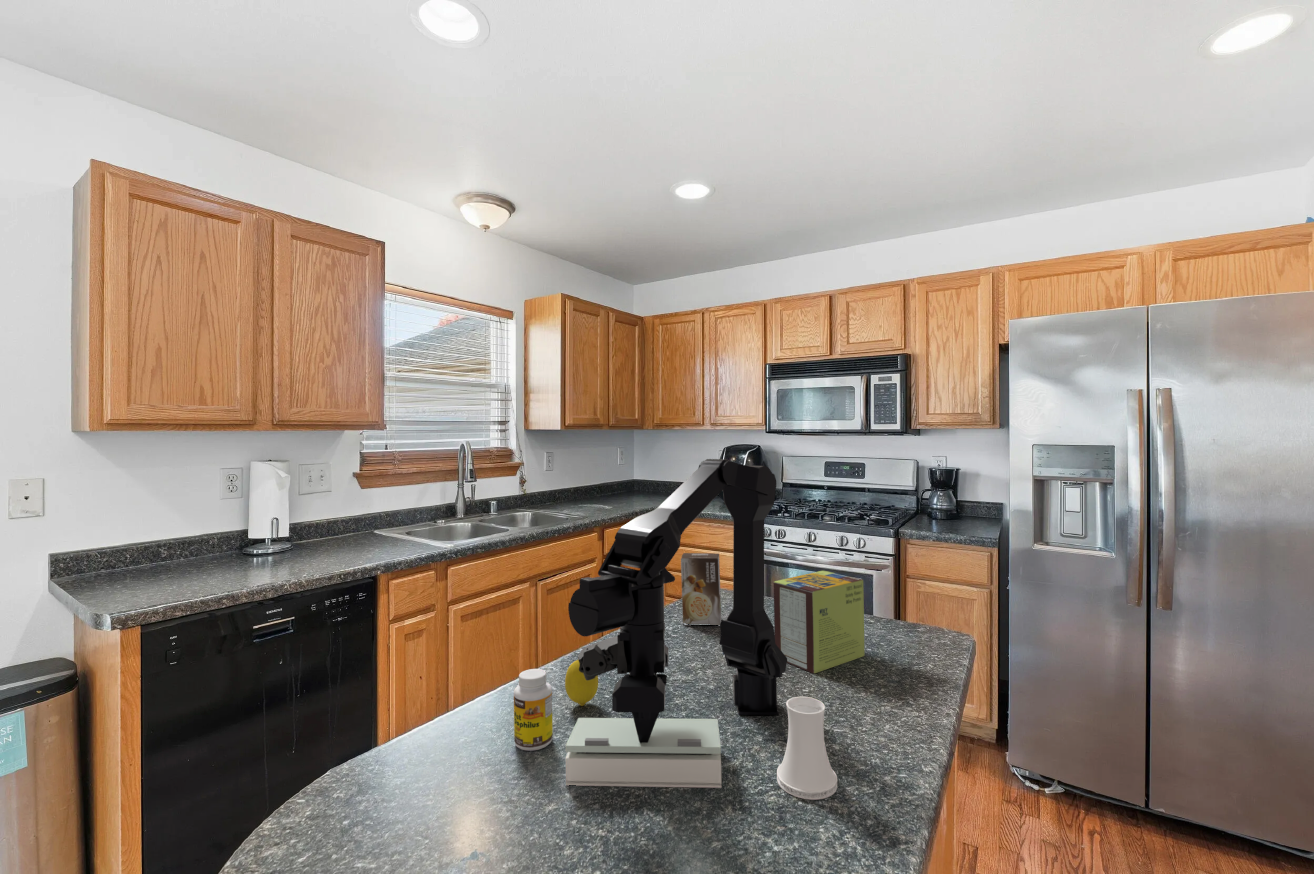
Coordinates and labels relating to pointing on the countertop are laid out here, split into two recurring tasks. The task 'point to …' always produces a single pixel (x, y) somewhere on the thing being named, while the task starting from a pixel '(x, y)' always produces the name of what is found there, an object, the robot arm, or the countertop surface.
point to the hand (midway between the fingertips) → (644, 739)
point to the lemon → (579, 685)
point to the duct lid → (663, 739)
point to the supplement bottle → (533, 711)
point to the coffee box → (701, 588)
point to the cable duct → (643, 769)
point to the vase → (806, 752)
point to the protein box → (819, 619)
